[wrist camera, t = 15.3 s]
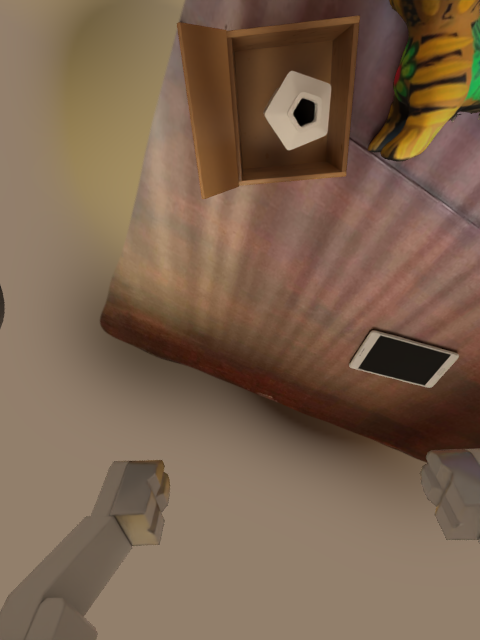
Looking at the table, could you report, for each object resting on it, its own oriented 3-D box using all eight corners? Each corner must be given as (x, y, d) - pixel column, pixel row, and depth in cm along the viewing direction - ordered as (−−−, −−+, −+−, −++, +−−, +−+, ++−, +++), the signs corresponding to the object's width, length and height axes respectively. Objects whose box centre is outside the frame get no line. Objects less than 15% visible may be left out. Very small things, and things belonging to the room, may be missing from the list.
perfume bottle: (288, 147, 34) (311, 169, 22) (253, 120, 33) (258, 127, 20) (316, 104, 32) (361, 100, 19) (281, 73, 31) (304, 49, 18)
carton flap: (238, 186, 29) (236, 186, 29) (226, 29, 23) (222, 30, 23) (204, 199, 26) (201, 198, 26) (179, 21, 20) (176, 23, 20)
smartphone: (431, 389, 52) (348, 368, 50) (429, 386, 53) (347, 365, 51) (461, 355, 49) (372, 330, 46) (459, 352, 49) (371, 328, 47)
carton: (239, 172, 36) (238, 185, 30) (229, 47, 30) (225, 31, 24) (328, 164, 35) (346, 176, 29) (336, 35, 29) (360, 15, 23)
